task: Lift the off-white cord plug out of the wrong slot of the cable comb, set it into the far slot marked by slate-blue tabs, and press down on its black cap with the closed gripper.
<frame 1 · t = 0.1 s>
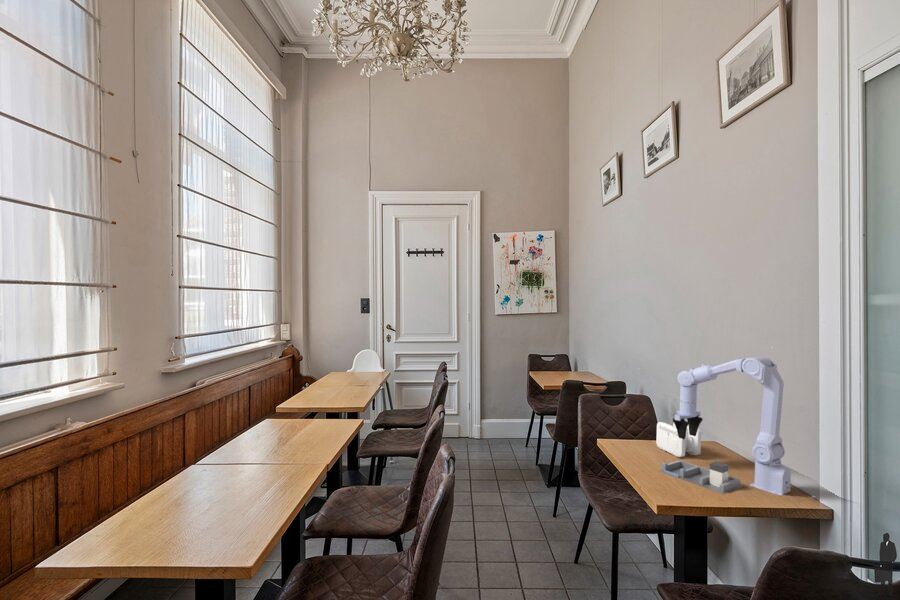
hand: (687, 436, 176), 10 cm above the table, tool pointing down, fingers open, 7 cm apart
cord plug: (718, 484, 154), point 1 cm above the table, touching cable comb
cable organizer: (677, 453, 188), on the table
cable comb: (698, 479, 160), on the table
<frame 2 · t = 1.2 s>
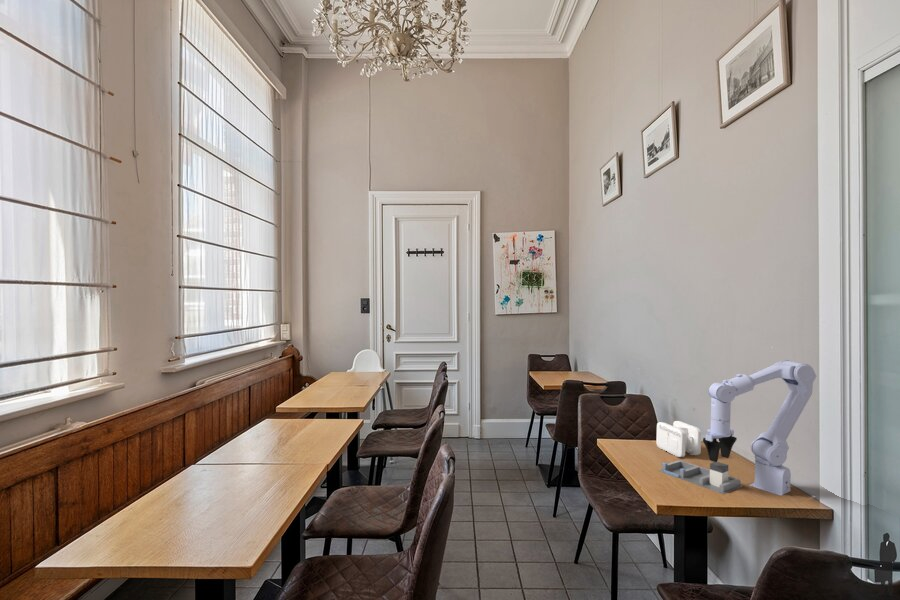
hand: (719, 459, 154), 9 cm above the table, tool pointing down, fingers open, 7 cm apart
nothing on the table moved.
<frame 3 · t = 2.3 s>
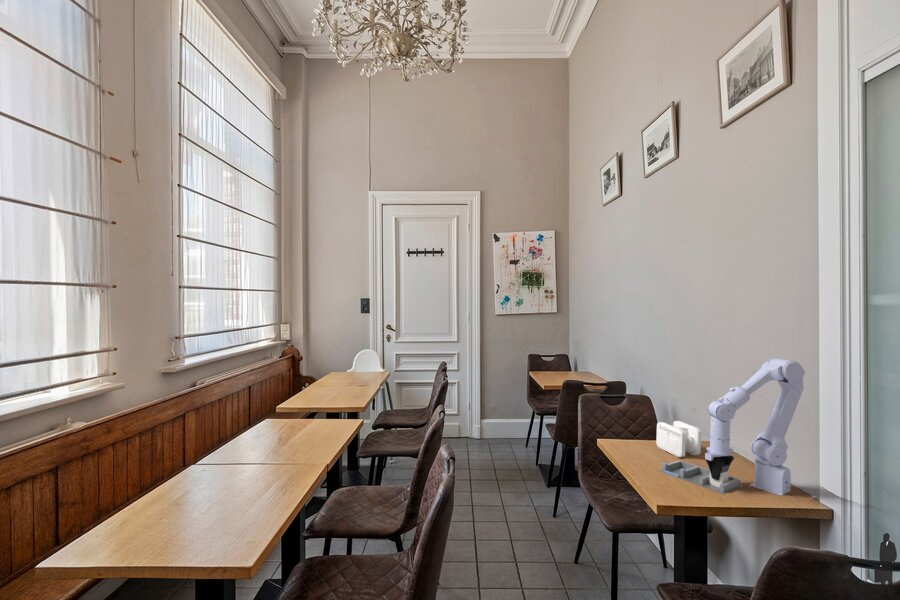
hand: (718, 477, 154), 3 cm above the table, tool pointing down, fingers closed on cord plug, 4 cm apart
cord plug: (718, 484, 154), point 1 cm above the table, touching cable comb, gripper
everything else where it was.
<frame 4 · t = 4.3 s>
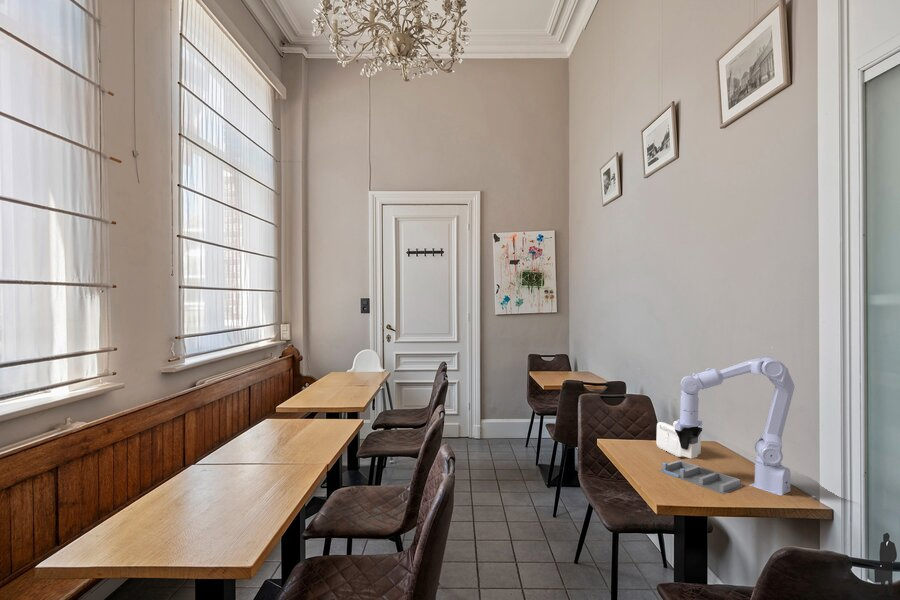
hand: (687, 447, 163), 10 cm above the table, tool pointing down, fingers closed on cord plug, 4 cm apart
cord plug: (688, 455, 163), point 7 cm above the table, touching gripper
everything else where it was.
when the fingers open (4 cm above the table, at t = 6.1 s): cord plug stays where it is, resting on cable comb.
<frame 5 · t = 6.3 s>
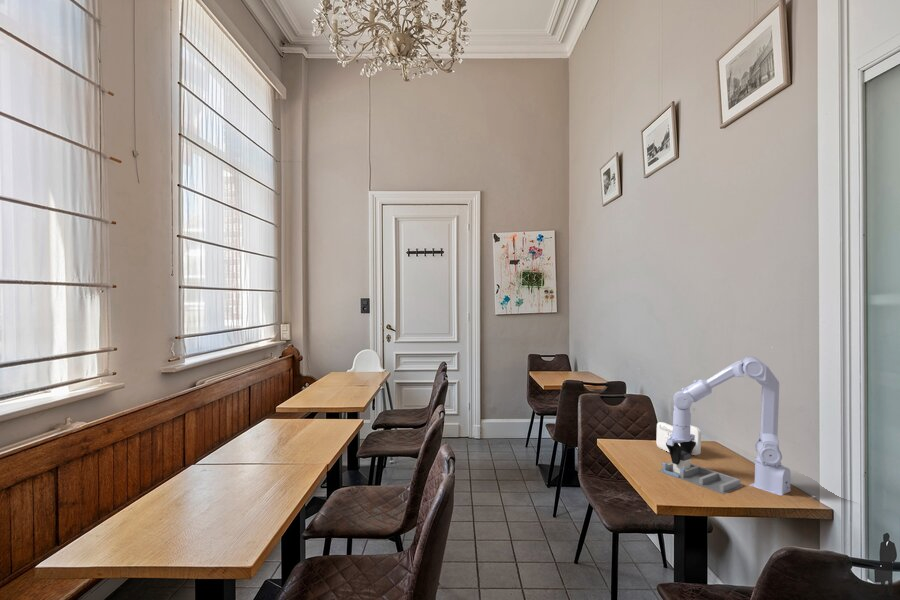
hand: (680, 462, 165), 4 cm above the table, tool pointing down, fingers open, 6 cm apart
cord plug: (681, 471, 165), point 1 cm above the table, touching cable comb
everything else where it was.
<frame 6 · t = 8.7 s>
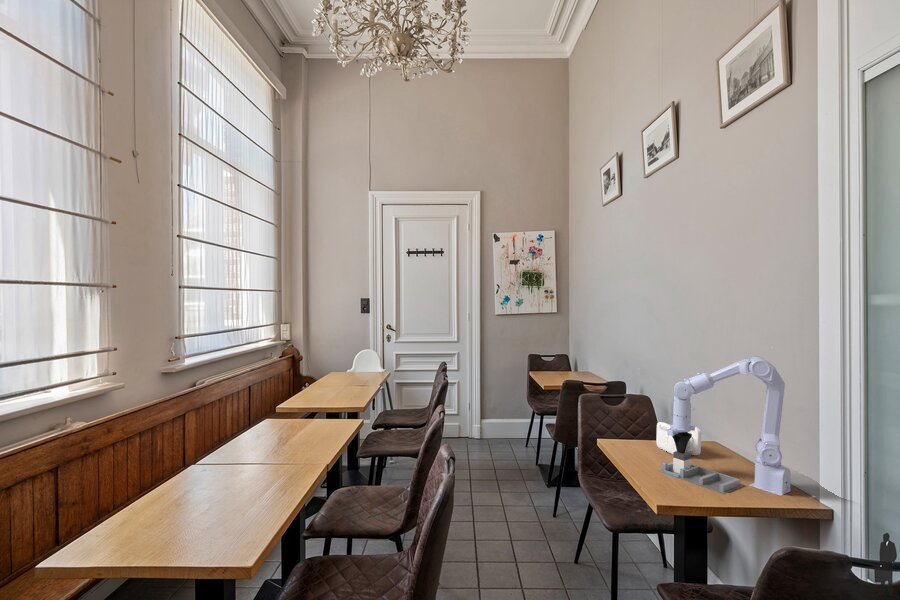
hand: (680, 452, 165), 8 cm above the table, tool pointing down, fingers closed, pressing on cord plug
cord plug: (681, 471, 165), point 1 cm above the table, touching cable comb, gripper
everything else where it was.
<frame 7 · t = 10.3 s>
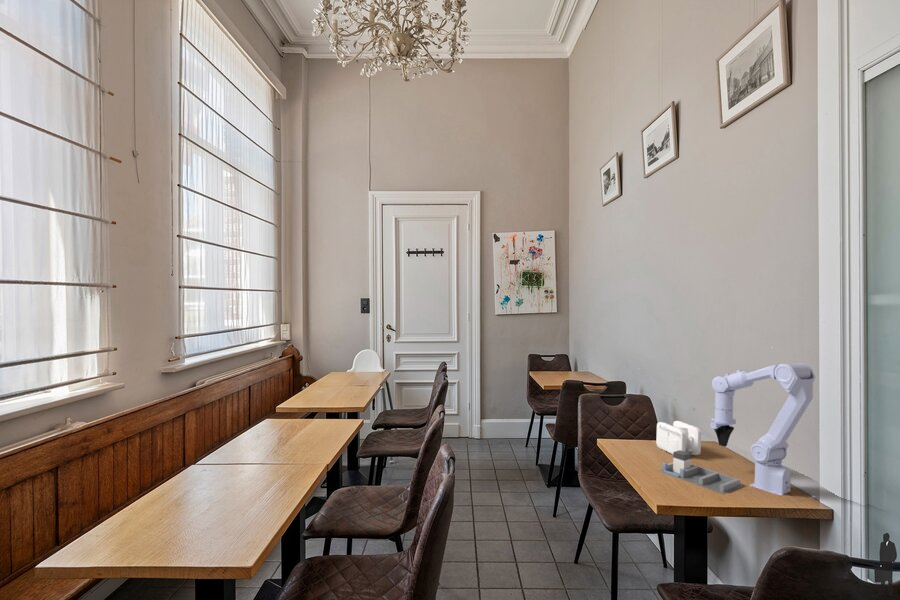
hand: (722, 445, 169), 9 cm above the table, tool pointing down, fingers closed
cord plug: (681, 471, 165), point 1 cm above the table, touching cable comb
everything else where it was.
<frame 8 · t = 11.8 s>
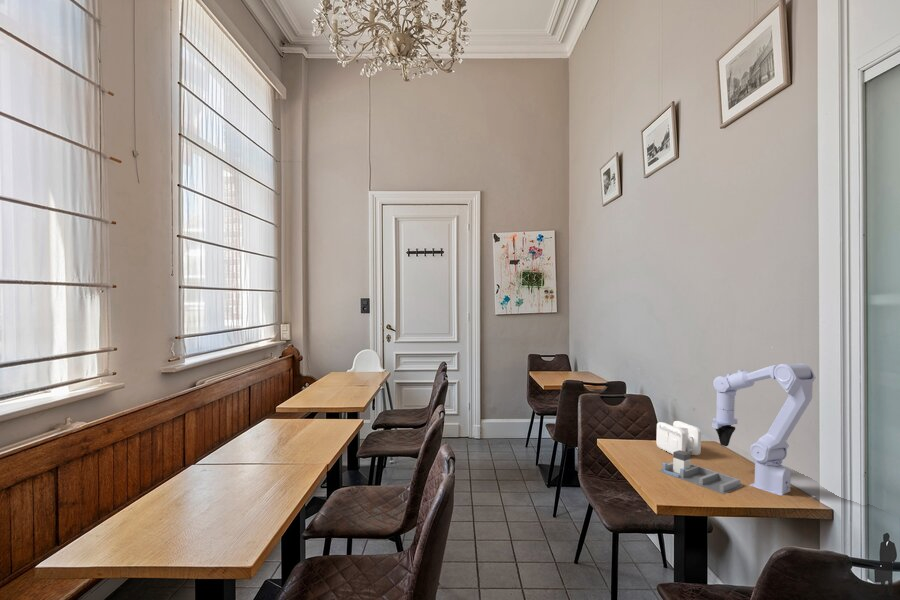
hand: (724, 445, 169), 9 cm above the table, tool pointing down, fingers closed
nothing on the table moved.
at the end: cord plug 0.4 cm from the target spot on the cable comb, point 0.6 cm above the cable comb's base; cord plug tilted 0°; the gripper is holding nothing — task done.
